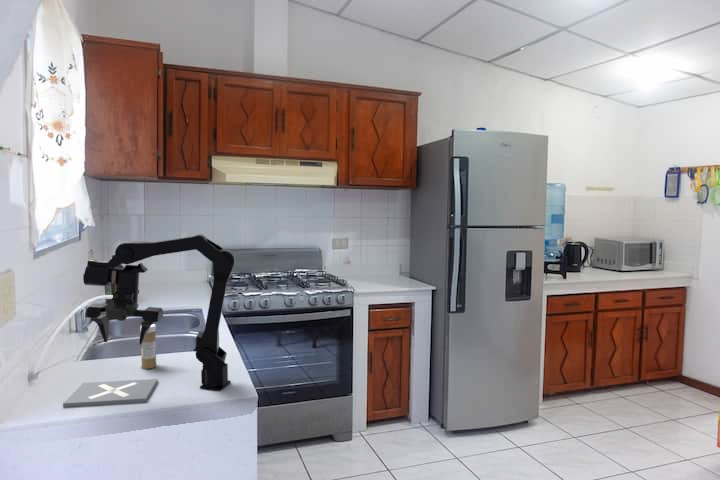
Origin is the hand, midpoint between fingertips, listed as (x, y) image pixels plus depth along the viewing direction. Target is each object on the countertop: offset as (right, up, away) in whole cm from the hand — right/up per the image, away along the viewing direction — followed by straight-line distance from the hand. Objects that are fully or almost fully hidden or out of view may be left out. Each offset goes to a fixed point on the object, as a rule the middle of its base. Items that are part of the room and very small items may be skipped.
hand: (123, 343), depth 135 cm
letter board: (-2, -14, -1) cm, 14 cm away
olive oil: (-52, -4, +102) cm, 115 cm away
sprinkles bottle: (-2, -12, +20) cm, 24 cm away
